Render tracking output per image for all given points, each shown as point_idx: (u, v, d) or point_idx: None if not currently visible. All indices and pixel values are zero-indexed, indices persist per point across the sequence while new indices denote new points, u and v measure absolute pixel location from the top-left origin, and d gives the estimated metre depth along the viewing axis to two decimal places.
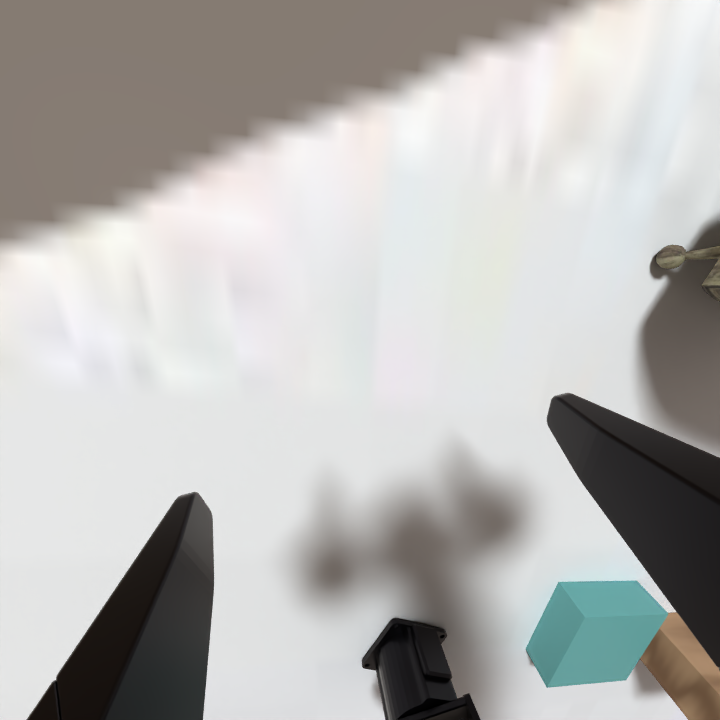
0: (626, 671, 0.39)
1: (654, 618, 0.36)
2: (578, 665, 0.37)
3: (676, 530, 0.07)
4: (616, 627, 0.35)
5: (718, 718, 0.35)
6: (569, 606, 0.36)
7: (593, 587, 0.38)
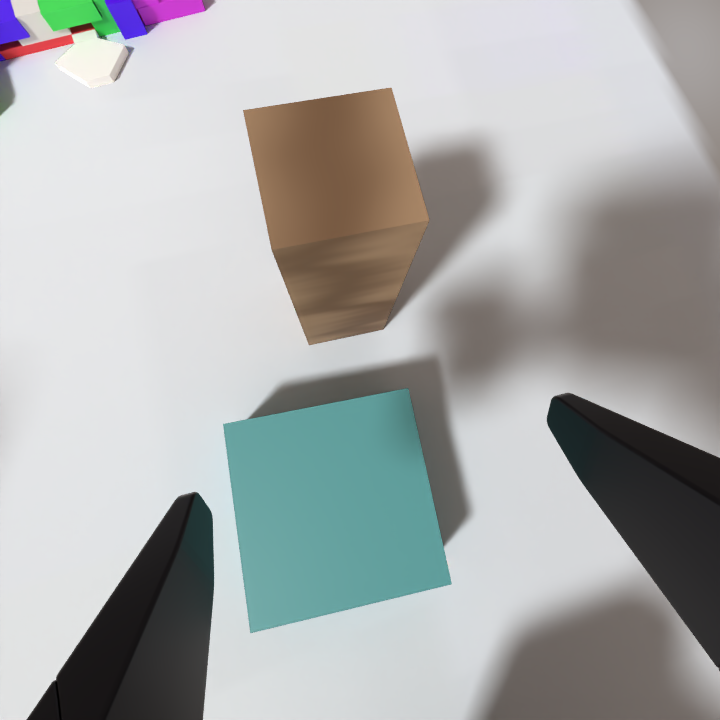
0: (384, 406, 0.20)
1: (238, 449, 0.19)
2: (380, 547, 0.18)
3: (676, 530, 0.07)
4: (268, 528, 0.18)
5: (336, 290, 0.16)
6: None
7: None
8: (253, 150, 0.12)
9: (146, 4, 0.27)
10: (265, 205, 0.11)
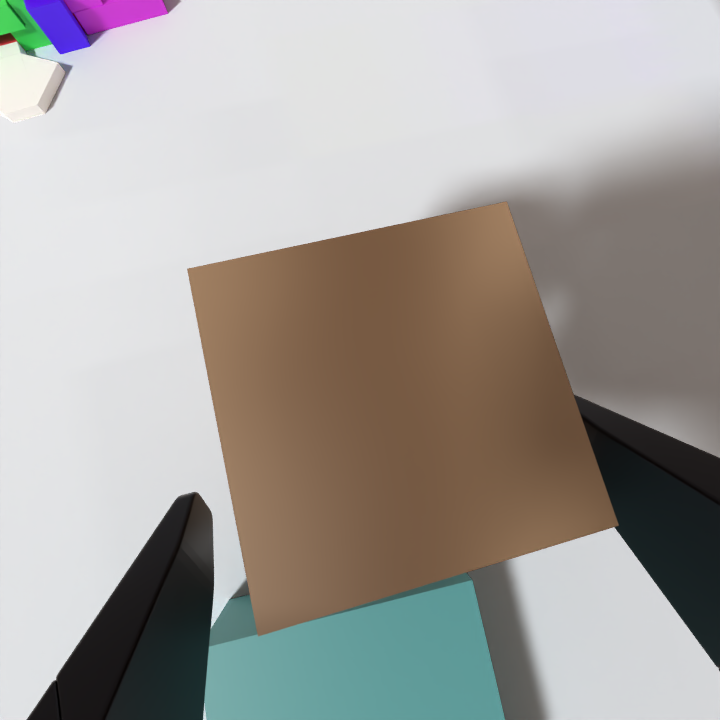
0: (438, 610, 0.13)
1: (221, 690, 0.13)
2: None
3: (676, 530, 0.07)
4: None
5: None
6: None
7: None
8: (211, 368, 0.05)
9: (85, 7, 0.20)
10: (240, 510, 0.05)
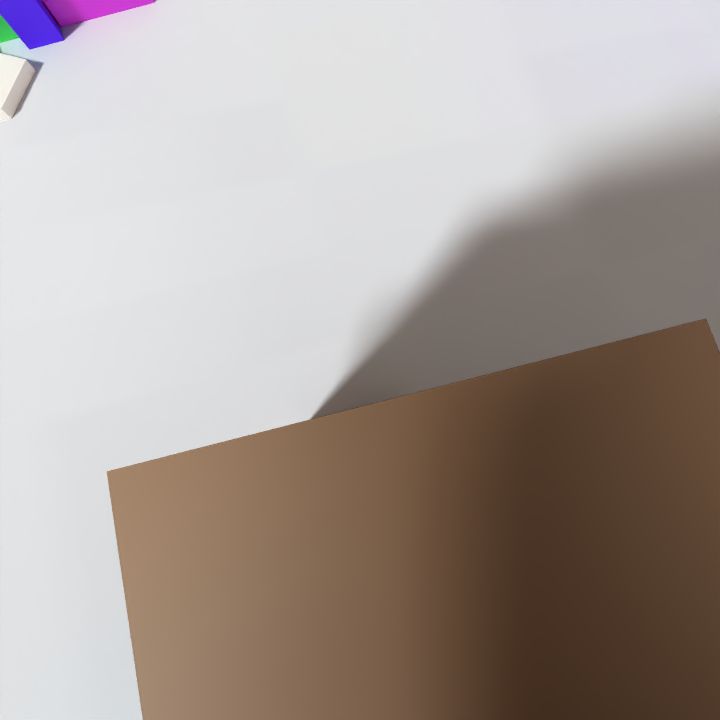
0: None
1: None
2: None
3: None
4: None
5: None
6: None
7: None
8: (149, 690, 0.03)
9: None
10: None
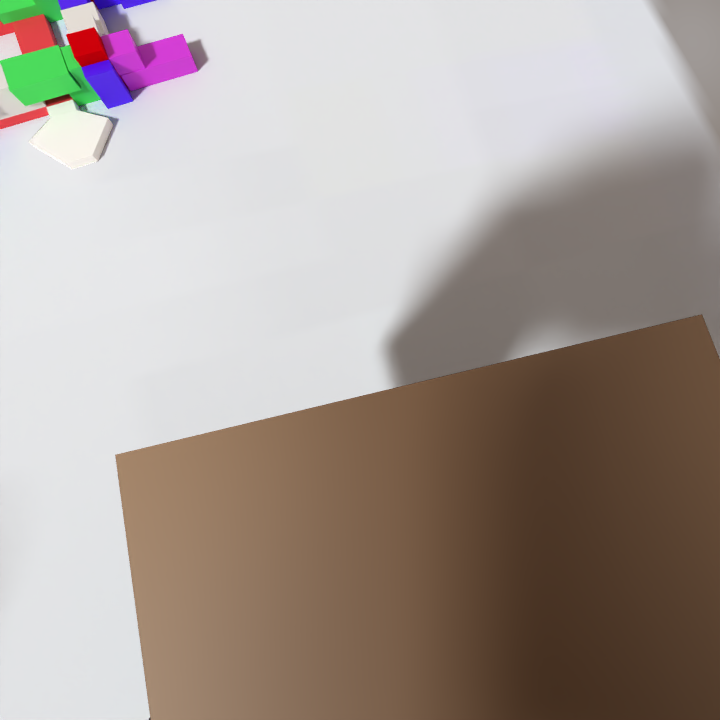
0: None
1: None
2: None
3: None
4: None
5: None
6: None
7: None
8: (153, 663, 0.03)
9: (130, 70, 0.23)
10: None
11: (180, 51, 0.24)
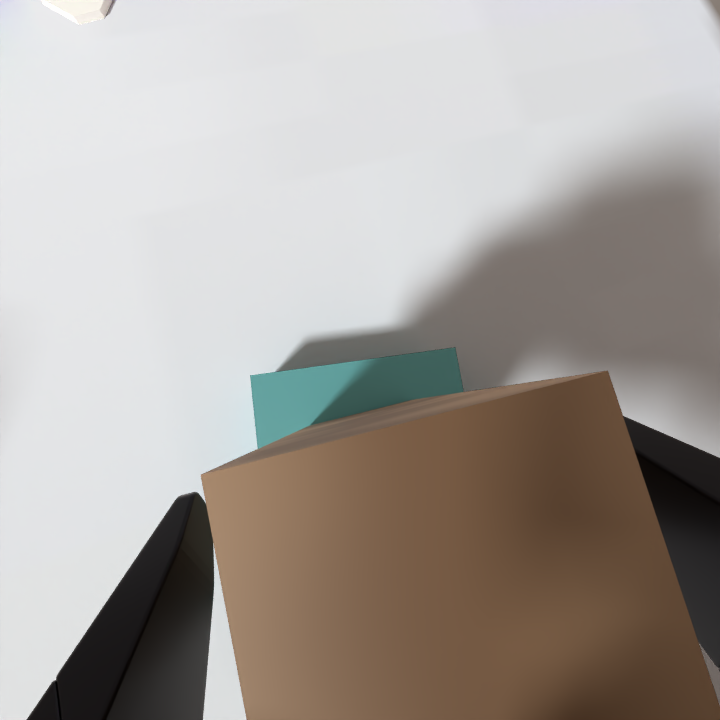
0: (428, 365, 0.18)
1: (266, 403, 0.17)
2: None
3: (676, 530, 0.07)
4: None
5: None
6: None
7: None
8: (233, 613, 0.04)
9: None
10: None
11: None
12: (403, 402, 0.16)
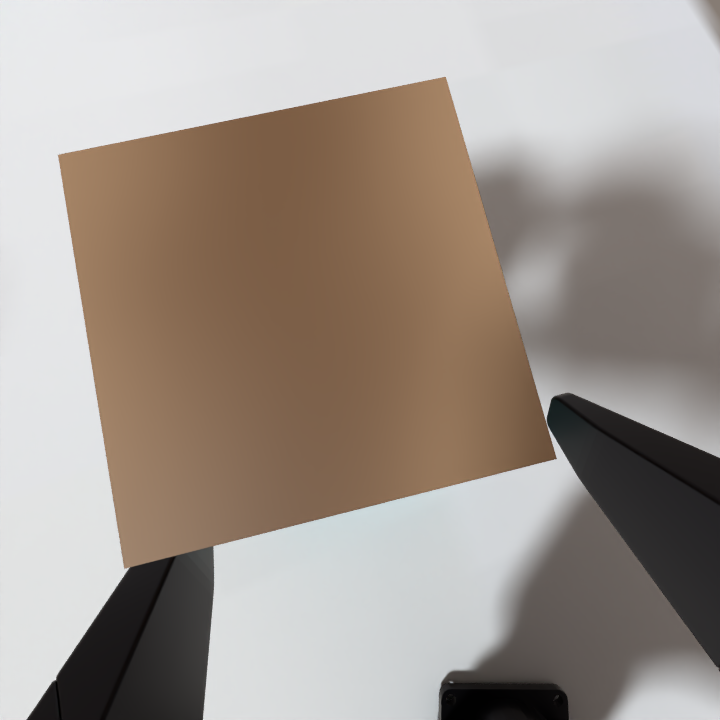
0: None
1: None
2: None
3: (676, 530, 0.07)
4: None
5: None
6: None
7: None
8: (82, 269, 0.04)
9: None
10: (111, 429, 0.04)
11: None
12: None
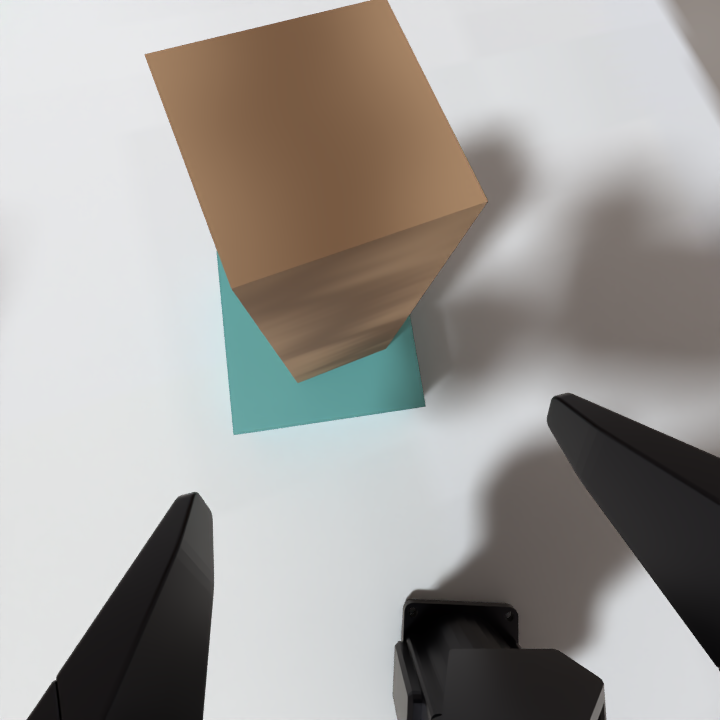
0: None
1: None
2: (360, 369, 0.19)
3: (676, 530, 0.07)
4: (254, 346, 0.19)
5: (335, 322, 0.11)
6: None
7: None
8: (172, 119, 0.07)
9: None
10: (208, 211, 0.06)
11: None
12: None
